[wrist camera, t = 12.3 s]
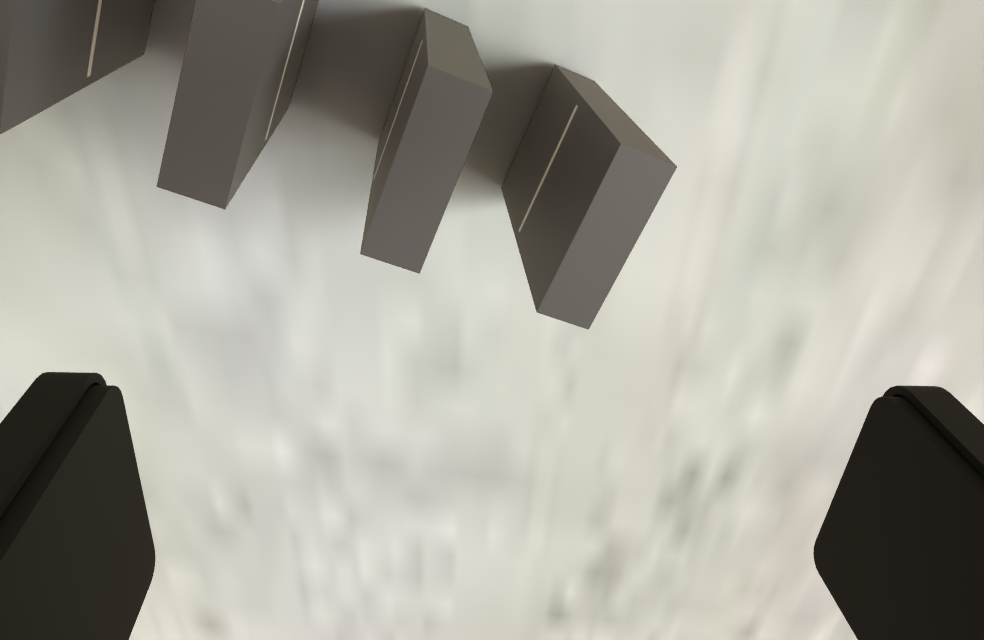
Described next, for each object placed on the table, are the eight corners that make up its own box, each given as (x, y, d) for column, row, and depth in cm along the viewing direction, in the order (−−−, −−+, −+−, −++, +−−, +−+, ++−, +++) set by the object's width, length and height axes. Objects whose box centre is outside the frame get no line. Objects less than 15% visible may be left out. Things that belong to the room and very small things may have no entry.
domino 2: (243, 91, 26) (155, 186, 17) (279, -55, 24) (201, -29, 15) (288, 108, 26) (226, 209, 18) (328, -34, 24) (279, 3, 16)
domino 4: (500, 187, 29) (536, 311, 20) (554, 64, 27) (620, 143, 18) (538, 201, 29) (589, 329, 20) (594, 81, 27) (677, 166, 18)
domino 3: (378, 141, 27) (359, 253, 19) (424, 7, 25) (427, 64, 17) (419, 157, 28) (420, 273, 19) (468, 26, 26) (493, 91, 17)
